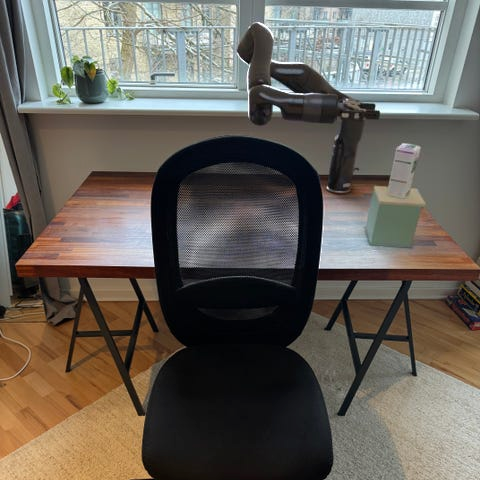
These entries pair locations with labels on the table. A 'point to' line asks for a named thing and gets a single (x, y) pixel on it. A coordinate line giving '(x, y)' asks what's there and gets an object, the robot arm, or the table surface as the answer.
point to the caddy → (391, 223)
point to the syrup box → (403, 170)
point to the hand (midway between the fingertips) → (377, 111)
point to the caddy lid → (411, 199)
